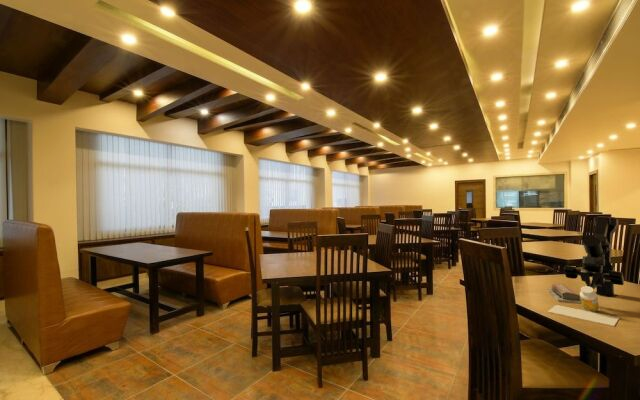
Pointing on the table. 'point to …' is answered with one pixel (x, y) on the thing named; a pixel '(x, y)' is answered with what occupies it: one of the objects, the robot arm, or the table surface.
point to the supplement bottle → (589, 299)
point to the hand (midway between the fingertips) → (589, 290)
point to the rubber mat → (584, 315)
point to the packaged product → (564, 294)
